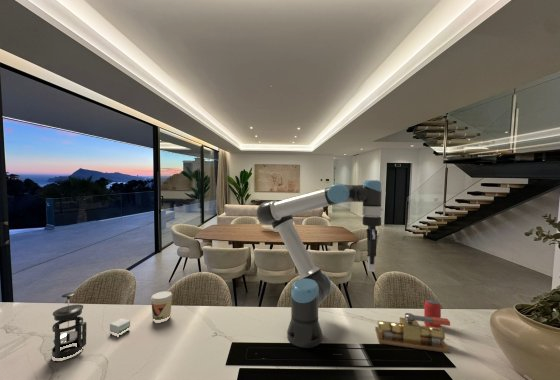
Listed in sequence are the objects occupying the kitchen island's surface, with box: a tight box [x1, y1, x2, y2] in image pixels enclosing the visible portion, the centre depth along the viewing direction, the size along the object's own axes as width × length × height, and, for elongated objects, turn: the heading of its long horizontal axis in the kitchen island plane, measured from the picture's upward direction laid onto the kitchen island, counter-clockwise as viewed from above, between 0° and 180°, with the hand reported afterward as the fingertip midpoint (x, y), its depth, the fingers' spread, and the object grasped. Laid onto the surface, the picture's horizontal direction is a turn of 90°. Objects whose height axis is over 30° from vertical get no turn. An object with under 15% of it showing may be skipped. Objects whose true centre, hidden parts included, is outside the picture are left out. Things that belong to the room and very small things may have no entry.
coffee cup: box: [150, 290, 173, 320], centre depth 119 cm, size 9×9×12 cm
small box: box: [109, 317, 131, 334], centre depth 108 cm, size 6×6×5 cm
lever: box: [404, 312, 451, 327], centre depth 102 cm, size 16×4×2 cm, turn 74°
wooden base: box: [374, 317, 450, 354], centre depth 104 cm, size 26×10×9 cm, turn 77°
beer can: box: [423, 297, 442, 328], centre depth 115 cm, size 7×7×12 cm
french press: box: [51, 292, 87, 358], centre depth 94 cm, size 12×9×23 cm
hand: (371, 270), depth 104 cm, fingers closed
